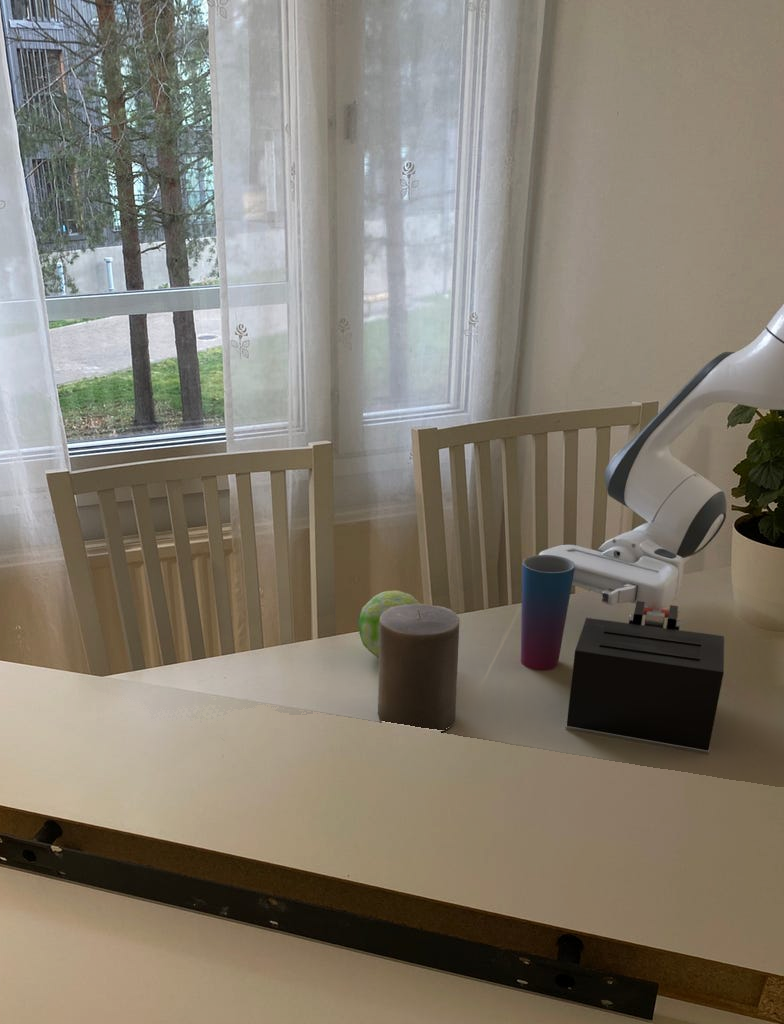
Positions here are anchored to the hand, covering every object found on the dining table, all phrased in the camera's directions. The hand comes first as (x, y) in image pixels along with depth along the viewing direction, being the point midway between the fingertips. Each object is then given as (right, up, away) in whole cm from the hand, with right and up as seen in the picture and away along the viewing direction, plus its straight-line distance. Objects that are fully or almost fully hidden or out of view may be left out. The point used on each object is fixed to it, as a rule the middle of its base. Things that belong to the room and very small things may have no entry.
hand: (576, 589), depth 128 cm
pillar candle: (-24, -17, -13) cm, 32 cm away
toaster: (+3, -17, -16) cm, 24 cm away
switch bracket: (+6, -14, -9) cm, 18 cm away
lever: (+8, -5, -9) cm, 13 cm away
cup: (-5, -11, -1) cm, 12 cm away
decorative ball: (-26, -10, +2) cm, 28 cm away
